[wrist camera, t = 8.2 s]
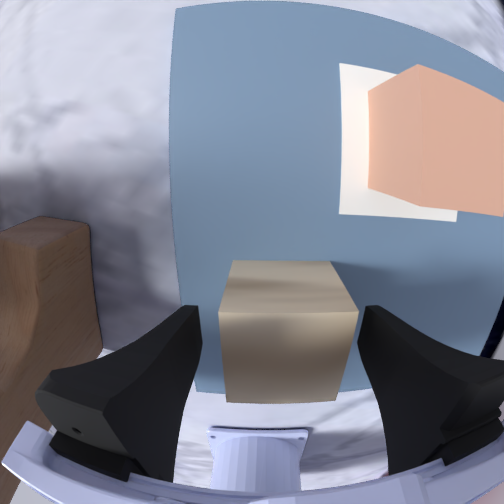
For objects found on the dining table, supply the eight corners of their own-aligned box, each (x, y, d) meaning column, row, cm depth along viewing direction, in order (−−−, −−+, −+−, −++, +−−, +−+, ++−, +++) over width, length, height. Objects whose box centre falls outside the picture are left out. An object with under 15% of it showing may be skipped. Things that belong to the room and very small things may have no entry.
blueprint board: (471, 360, 15) (475, 365, 15) (198, 385, 16) (196, 392, 16) (515, 84, 8) (521, 83, 8) (179, 13, 9) (175, 7, 8)
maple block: (319, 338, 14) (335, 400, 10) (235, 338, 14) (226, 402, 10) (329, 260, 12) (359, 311, 8) (233, 260, 13) (218, 312, 8)
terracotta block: (443, 196, 11) (503, 216, 7) (367, 188, 11) (419, 206, 7) (444, 110, 9) (504, 102, 5) (367, 91, 10) (417, 64, 5)
